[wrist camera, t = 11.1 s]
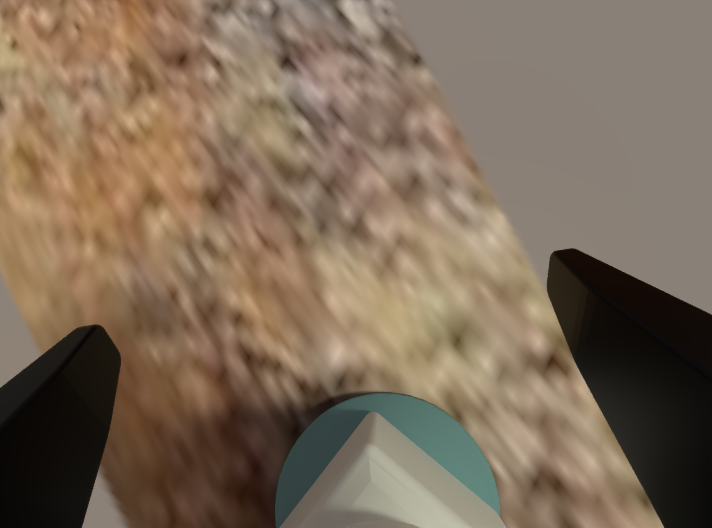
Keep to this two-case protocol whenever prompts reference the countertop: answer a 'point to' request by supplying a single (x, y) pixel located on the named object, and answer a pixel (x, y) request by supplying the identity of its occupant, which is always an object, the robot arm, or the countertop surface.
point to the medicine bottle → (388, 487)
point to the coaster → (404, 413)
